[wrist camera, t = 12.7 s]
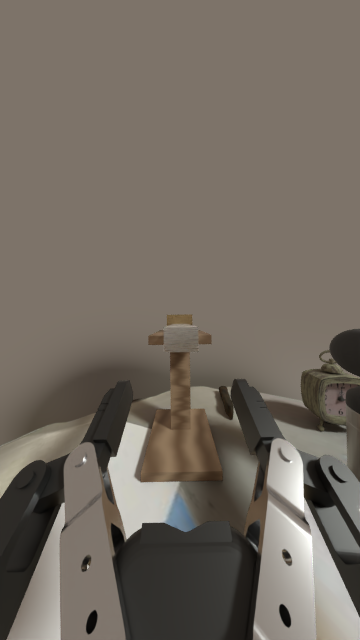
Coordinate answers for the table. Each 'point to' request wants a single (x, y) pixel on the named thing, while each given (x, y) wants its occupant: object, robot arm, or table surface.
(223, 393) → the hand tool
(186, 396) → the stand
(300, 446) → the table surface
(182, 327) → the bar
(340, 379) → the tabletop clock
